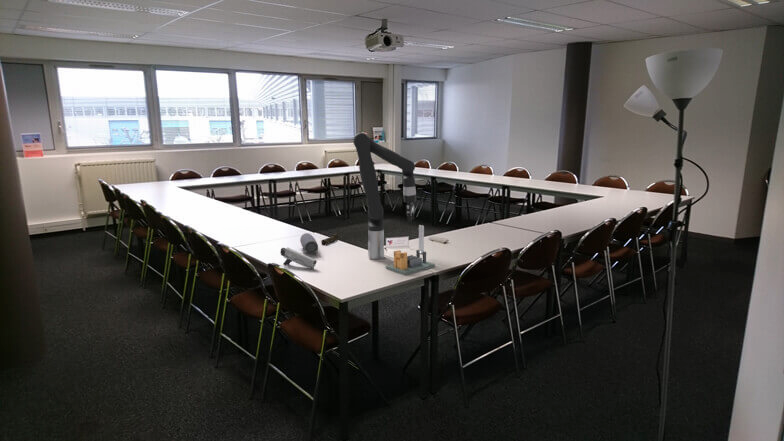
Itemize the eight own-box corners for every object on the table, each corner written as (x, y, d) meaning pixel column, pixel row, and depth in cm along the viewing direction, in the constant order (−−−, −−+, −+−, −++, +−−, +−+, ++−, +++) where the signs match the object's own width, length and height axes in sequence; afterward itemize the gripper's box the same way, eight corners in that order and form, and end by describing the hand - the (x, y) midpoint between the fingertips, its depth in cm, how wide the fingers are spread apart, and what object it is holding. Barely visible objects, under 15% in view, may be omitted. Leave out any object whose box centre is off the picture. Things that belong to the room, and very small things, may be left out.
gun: (281, 260, 271) (283, 245, 268) (314, 276, 261) (317, 260, 258) (278, 262, 269) (280, 246, 266) (312, 277, 259) (314, 261, 256)
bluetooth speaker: (299, 247, 305) (298, 233, 303) (313, 246, 307) (313, 231, 305) (304, 256, 283) (303, 241, 281) (319, 255, 286) (318, 239, 284)
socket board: (415, 260, 273) (415, 247, 272) (434, 266, 262) (435, 252, 260) (385, 268, 259) (385, 254, 257) (404, 275, 247) (404, 260, 245)
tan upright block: (399, 265, 259) (399, 250, 257) (407, 268, 254) (407, 252, 252) (393, 267, 256) (393, 251, 254) (401, 269, 251) (401, 253, 249)
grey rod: (420, 253, 266) (420, 224, 263) (424, 254, 264) (424, 225, 260) (418, 254, 265) (418, 225, 261) (422, 255, 263) (422, 226, 259)
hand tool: (326, 245, 310) (325, 239, 309) (321, 245, 312) (320, 238, 311) (341, 239, 326) (341, 233, 325) (336, 238, 328) (336, 232, 327)
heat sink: (411, 261, 266) (411, 254, 266) (422, 264, 260) (422, 258, 259) (399, 264, 261) (399, 257, 260) (410, 268, 254) (410, 261, 253)
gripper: (405, 192, 283) (407, 218, 286) (401, 196, 269) (402, 223, 273) (417, 192, 281) (418, 218, 285) (413, 195, 268) (415, 223, 271)
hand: (410, 220), depth 279 cm, fingers open, 8 cm apart
